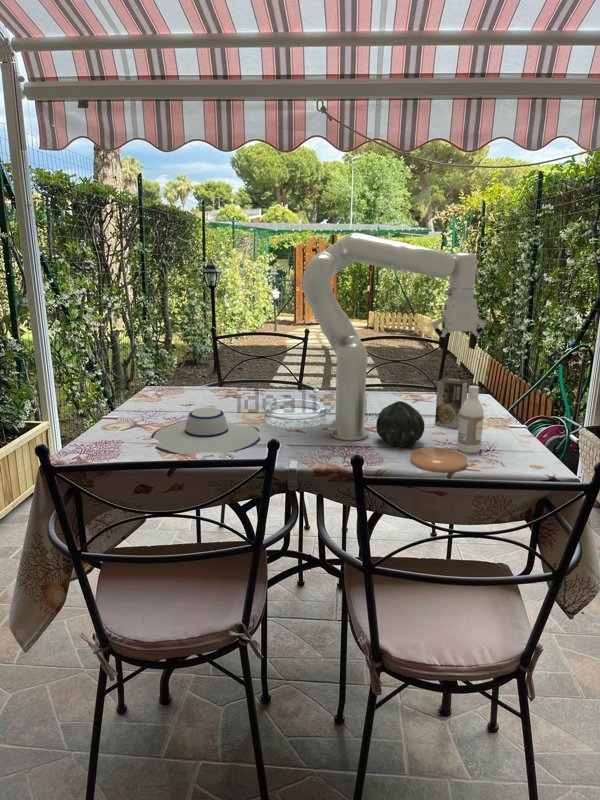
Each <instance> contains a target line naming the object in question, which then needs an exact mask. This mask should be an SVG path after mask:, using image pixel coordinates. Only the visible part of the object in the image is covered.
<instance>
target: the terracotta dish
mask: <svg viewBox="0 0 600 800" xmlns="http://www.w3.org/2000/svg"><path fill="white" fill-rule="evenodd" d="M409 458H410V460H409V461H410V463H411V464H412V465H413V466H415V467H417V468H419V469H422V470H425V471H429V472H436V473H455V472H460V471H462V470H464V469H466V468H467V466H468V458H467V456H466V455H465V454H463V453H462V452H461V451H457V450H454V449H450V448H444V447H433V446H430V447H420V448H416V449H415V450H413V451H411V452H410V457H409Z"/></svg>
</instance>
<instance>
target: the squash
mask: <svg viewBox="0 0 600 800" xmlns="http://www.w3.org/2000/svg"><path fill="white" fill-rule="evenodd" d="M377 416H378V417H377V419H376V427H375V428H376V433H377V434H378V436H379V437H380V438H381V439H382V440H383V441H385V442H387V444H389V446H392V447H394V446H398V447H400V448H402V447H405V446H409V447H410V446H414V445H415V444H416V443H417V442H418V441H420V440H421V439H422V436H423V435H424V432H425V426H426V425H425V424H426V423H425V421H424V418H423V417H422V415H421V413H420V412H419V411H418V410H416V408H415V407H413V406H412V405H411V404H409V403H407V402H405V401H401V400H398V401H395V402H393V403H391V404H389V405H388V406H386V407H384V408H383V409H381V411H380V412H379V414H378V415H377Z"/></svg>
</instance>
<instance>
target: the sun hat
mask: <svg viewBox="0 0 600 800" xmlns="http://www.w3.org/2000/svg"><path fill="white" fill-rule="evenodd" d="M259 433H260V429H259V428H258V427H256V426H253V425H242V424H241V425H240V424H234V423H230V422H228V421H227V418H226V416H225V413H224V412H223V411H222V410H221V409H217V408H212V407H203V408H198V409H197V408H196V409H193V410H191V411H190V412H189V413H188V416H187V419H185V420H180V421H177V422H174V423H171V424H169V425H166V426H163V427H160V428H158V429H157V430H155V431H154V432H152V434H151V436H150V438H151V439H153V440H154V439H155V440H156V441H158V443H157V444H156V445H155V447H154V449H156V450H158V451H160V452H161V451H162V452H163V453H164V452H165V453H167V454H170V455H187V454H200V453H201V454H203V453H204V454H208V453H211V454H212V453H217V454H218V453H219V454H221V453H234V452H238V451H243V450H245V449H248V448H251V447H253V446H255V445H256V444H258V443H259V442H260V441H261V436H260V435H259Z"/></svg>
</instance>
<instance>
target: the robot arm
mask: <svg viewBox="0 0 600 800" xmlns="http://www.w3.org/2000/svg"><path fill="white" fill-rule="evenodd" d="M354 263H360V264H365V265H370V266H374V267H378V268H384V269H388V270H393V271H404V272H409V273H415V274H419V275H424V276H428V277H432V278H433V277H434V278H438V279H445V278H448V277H449V283H448V289H447V290H444V291H443V292H444V296H447V298H446V299H445V303H444V306H443V312H442V317H440V318H438V319H436V320H434V321H433V322H431V326H432V328H433V331H434V332H435V333H436V334H437V336H438V347H439V349H441V350H442V351H445V350H446V346H447V337H446V335H447V334H448V333H449V332H469V333H470V334H471V335H469V341H468V348H469V349H471V350H475V349H476V346H477V340H478V339H477V338H478V337H479V335H480V334H481V333H482V332H483V331H484V328H485V327H486V325H487V322H486V321H485V320H484V319H481V318H479V317H478V304H477V303H478V302H477V298H474V294H475V284H476V283H475V282H476V271H477V255H476V254H475V253H472V252H456V253H450V252H449V253H448V252H447V251H443V250H442V251H441V250H438V249H437V250H436V249H432V248H428V247H423V246H417V245H413V244H409V243H407V242H406V243H405V242H402V241H399V240H394V239H390V238H384V237H379V236H375V235H370V234H365V233H361V232H350V233H349V234H346V235H345V236H344V237H342V238H341V239H339V240H337V241H336V242H335V243H333V244H332V245H329V246H328V247H326V248H325V249H323V250H321V251H319V252H318V253H316V254H315V255H313V256H312V258H311V259H310V261H309V262H308V264H307V266H306V268H305V270H304V273H303V275H302V291H303V295H304V297H305V299H306V301H307V304H308V306H309V308H310V310H311V312H312V314H313V315H314V318H315V319H316V321H317V322H318V325H319V328H320V329H321V332H322V334H323V335H324V336H325V337H326V339H327V341H328V343H329V345H330V346H331V348H332V350H333V352H334V353H335V355H336V376H335V377H336V380H335V420H332V422H331V423H329V424H321V425H320V428H321V431H327V433H329V432H330V436H331V437H332V438H335V439H336V440H341V441H349V442H351V441H361V440H365V439H367V438H368V437H369V433H370V432H369V431H368V429H366V428H365V416H366V415H365V412H366V410H365V409H366V384H367V383H366V380H367V369H368V351H367V349H366V347H365V345H364V343H363V342H362V340H361V338H360V337H359V335H358V333H357V332H356V329H355V328H354V326H353V324H352V322H351V320H350V318H349V316H348V315H347V313H346V312H345V311H344V310H343V307H342V306H341V305H340V303H339V301H338V299H337V297H336V295H335V293H334V292H333V290H332V287H331V282H332V281H331V280H332V278H333V277H334V276H335V275H336V274H337V273H339V272H341V271H342V270H344V269H346V268H347V267H349V266H351V265H352V264H354ZM478 324H479V326H478ZM439 325H441V329H440V328H439Z"/></svg>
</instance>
